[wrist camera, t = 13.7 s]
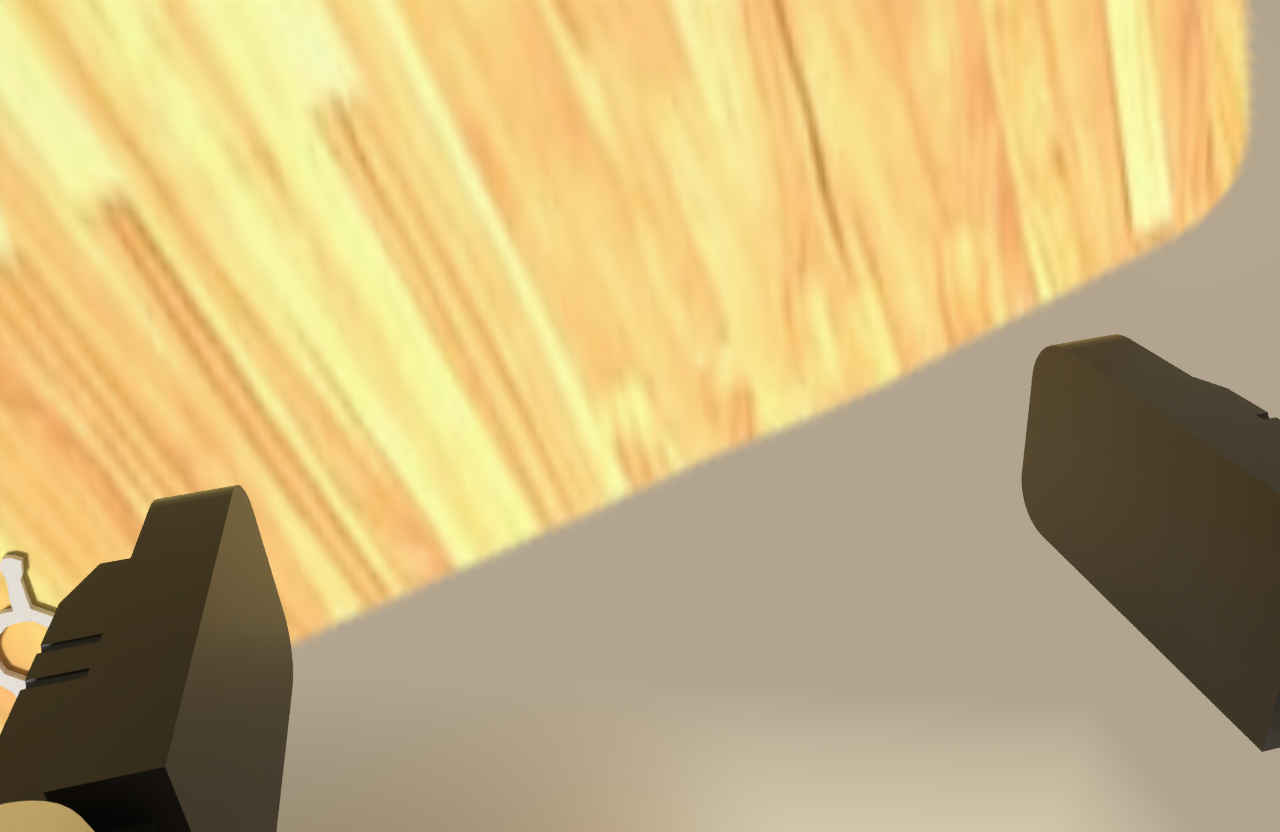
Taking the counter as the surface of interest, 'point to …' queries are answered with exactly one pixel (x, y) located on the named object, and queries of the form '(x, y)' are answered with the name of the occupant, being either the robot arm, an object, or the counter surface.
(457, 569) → the counter surface
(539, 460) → the counter surface
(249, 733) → the robot arm
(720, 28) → the counter surface
